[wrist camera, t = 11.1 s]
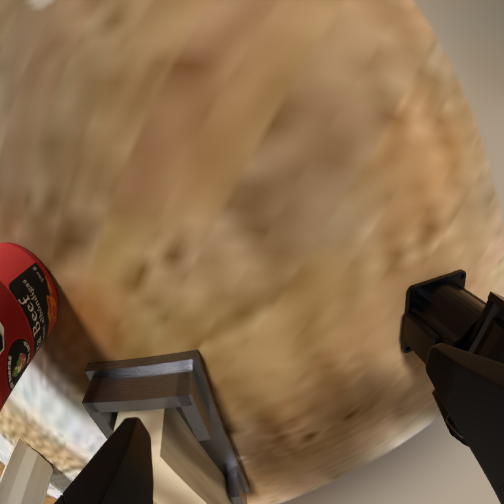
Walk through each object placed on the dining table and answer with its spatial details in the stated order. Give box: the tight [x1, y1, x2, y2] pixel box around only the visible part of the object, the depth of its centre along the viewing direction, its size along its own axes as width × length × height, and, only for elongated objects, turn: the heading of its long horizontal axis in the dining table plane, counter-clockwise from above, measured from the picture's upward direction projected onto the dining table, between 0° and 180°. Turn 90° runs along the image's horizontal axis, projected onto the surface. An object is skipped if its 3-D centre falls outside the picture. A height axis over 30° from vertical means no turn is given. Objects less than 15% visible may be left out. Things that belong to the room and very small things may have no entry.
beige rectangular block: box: [114, 407, 233, 504], centre depth 20 cm, size 4×16×6 cm, turn 15°
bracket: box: [82, 350, 250, 504], centre depth 22 cm, size 9×22×4 cm, turn 9°
